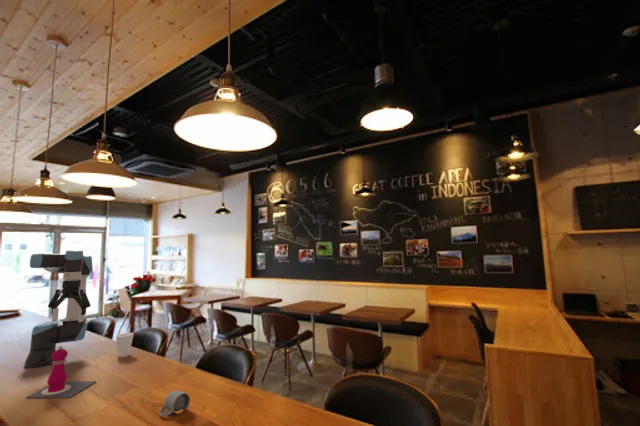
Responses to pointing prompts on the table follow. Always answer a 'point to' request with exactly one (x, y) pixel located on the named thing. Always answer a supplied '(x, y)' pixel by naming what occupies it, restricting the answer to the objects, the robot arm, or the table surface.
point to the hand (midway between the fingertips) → (67, 321)
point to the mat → (63, 390)
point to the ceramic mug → (175, 402)
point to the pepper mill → (58, 371)
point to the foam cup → (124, 344)
